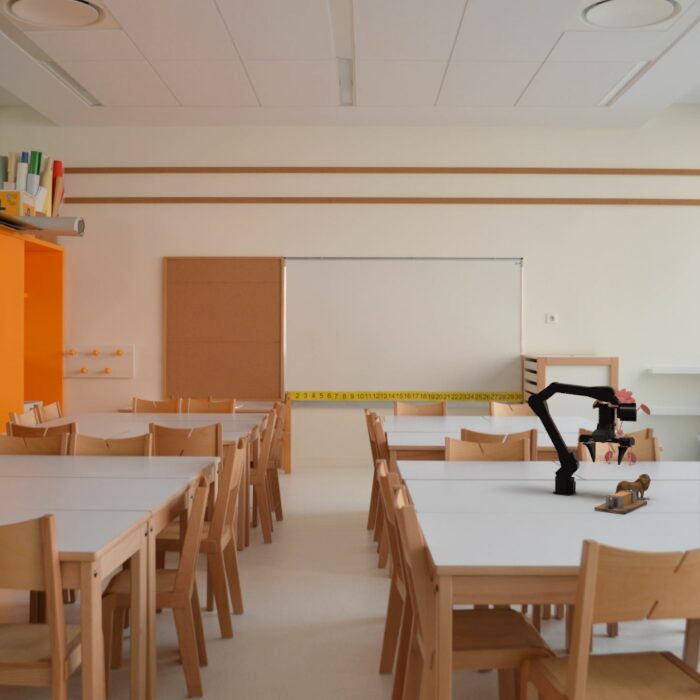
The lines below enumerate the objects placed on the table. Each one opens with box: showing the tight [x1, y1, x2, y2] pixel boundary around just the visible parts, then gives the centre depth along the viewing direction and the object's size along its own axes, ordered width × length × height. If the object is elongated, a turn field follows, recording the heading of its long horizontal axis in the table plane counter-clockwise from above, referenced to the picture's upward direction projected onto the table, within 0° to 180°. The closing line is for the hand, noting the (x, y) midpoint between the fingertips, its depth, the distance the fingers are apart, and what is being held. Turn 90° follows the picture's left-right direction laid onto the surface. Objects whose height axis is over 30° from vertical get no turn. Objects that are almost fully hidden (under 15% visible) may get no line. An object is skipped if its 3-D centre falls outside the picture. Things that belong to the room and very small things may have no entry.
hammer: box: [605, 490, 637, 509], centre depth 265 cm, size 5×15×4 cm, turn 141°
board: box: [593, 490, 648, 516], centre depth 265 cm, size 10×22×4 cm, turn 141°
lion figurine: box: [614, 473, 652, 501], centre depth 279 cm, size 15×5×9 cm, turn 106°
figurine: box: [592, 388, 651, 466], centre depth 368 cm, size 15×26×35 cm, turn 67°
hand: (606, 463), depth 284 cm, fingers open, 9 cm apart
